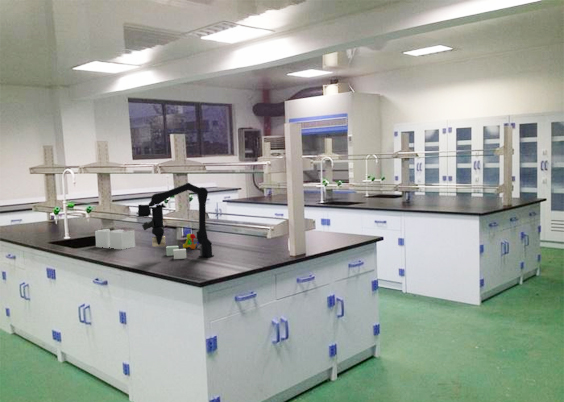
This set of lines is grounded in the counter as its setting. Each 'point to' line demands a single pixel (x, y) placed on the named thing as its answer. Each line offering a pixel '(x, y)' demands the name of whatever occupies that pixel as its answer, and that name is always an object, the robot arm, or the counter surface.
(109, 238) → the storage container
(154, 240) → the maple block
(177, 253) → the offwhite block
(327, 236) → the counter surface
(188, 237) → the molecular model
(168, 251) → the sage block
